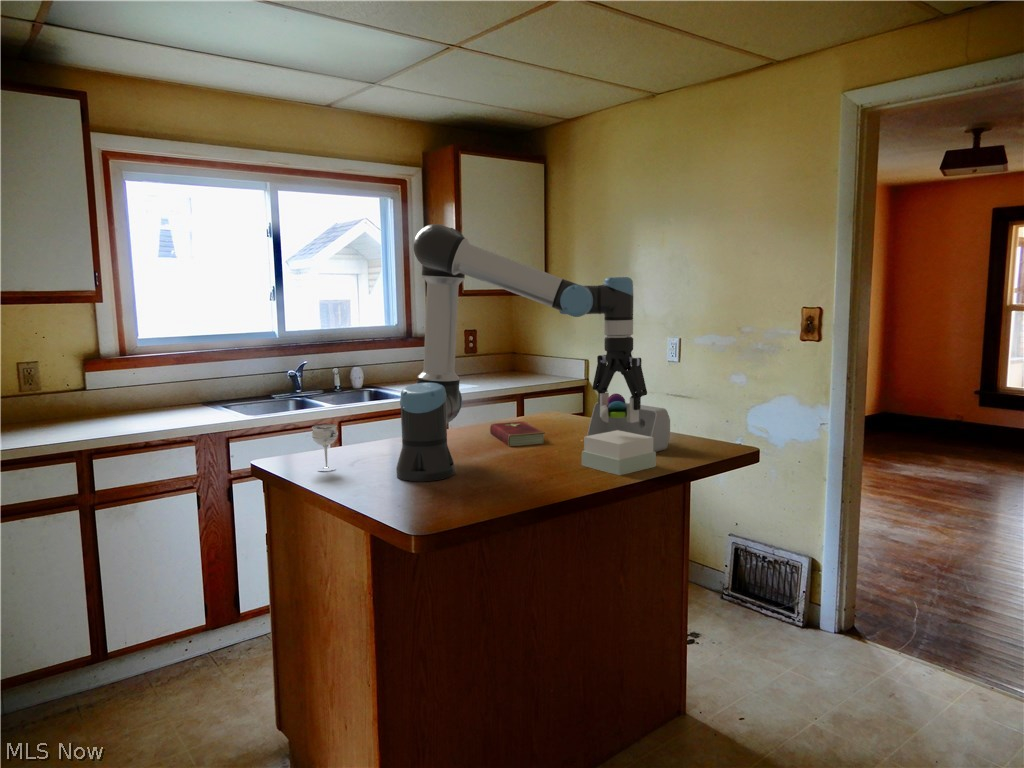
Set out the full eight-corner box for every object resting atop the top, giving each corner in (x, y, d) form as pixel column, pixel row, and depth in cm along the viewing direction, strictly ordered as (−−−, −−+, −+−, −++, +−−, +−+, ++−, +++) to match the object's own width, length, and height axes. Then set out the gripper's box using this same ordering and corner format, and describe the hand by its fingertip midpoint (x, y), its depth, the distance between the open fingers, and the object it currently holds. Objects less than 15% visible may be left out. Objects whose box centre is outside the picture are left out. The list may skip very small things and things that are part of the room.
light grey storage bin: (681, 447, 210) (682, 406, 208) (647, 455, 200) (647, 412, 198) (619, 434, 229) (620, 397, 227) (585, 442, 219) (585, 402, 217)
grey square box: (619, 475, 178) (619, 444, 177) (581, 465, 189) (581, 436, 188) (655, 466, 186) (656, 437, 185) (617, 457, 197) (617, 429, 196)
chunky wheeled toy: (631, 417, 190) (631, 391, 189) (634, 424, 180) (634, 396, 179) (600, 417, 191) (600, 391, 190) (601, 424, 181) (601, 396, 180)
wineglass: (313, 474, 185) (311, 429, 183) (313, 468, 191) (311, 425, 190) (340, 471, 186) (337, 427, 185) (339, 466, 193) (337, 423, 191)
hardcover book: (508, 448, 214) (508, 434, 213) (490, 435, 234) (489, 422, 233) (545, 444, 217) (545, 431, 217) (524, 432, 237) (523, 420, 237)
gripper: (661, 337, 176) (661, 423, 179) (598, 334, 194) (598, 412, 197) (641, 338, 172) (641, 427, 175) (578, 335, 190) (579, 415, 193)
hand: (618, 419), depth 186 cm, fingers closed on chunky wheeled toy, 10 cm apart
